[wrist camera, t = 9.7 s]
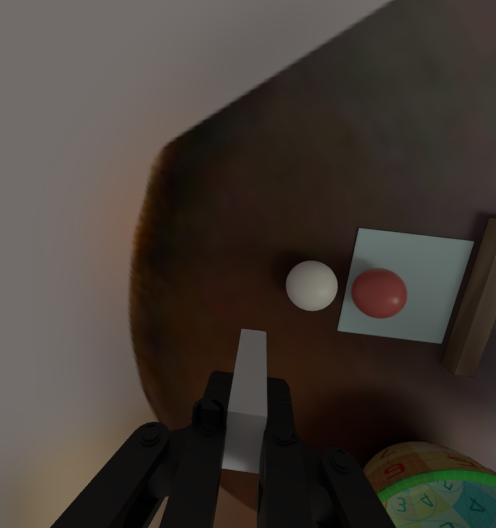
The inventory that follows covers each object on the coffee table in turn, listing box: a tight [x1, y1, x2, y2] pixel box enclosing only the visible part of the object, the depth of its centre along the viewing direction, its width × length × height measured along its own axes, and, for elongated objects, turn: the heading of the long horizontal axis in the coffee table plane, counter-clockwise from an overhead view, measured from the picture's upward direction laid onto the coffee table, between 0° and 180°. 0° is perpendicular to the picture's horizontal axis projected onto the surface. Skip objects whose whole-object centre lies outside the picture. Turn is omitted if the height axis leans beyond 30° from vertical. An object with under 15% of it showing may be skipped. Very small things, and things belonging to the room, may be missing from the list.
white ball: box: [286, 261, 337, 311], centre depth 32 cm, size 6×6×6 cm
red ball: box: [351, 268, 408, 319], centre depth 32 cm, size 6×6×6 cm
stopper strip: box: [442, 218, 496, 377], centre depth 33 cm, size 2×20×2 cm, turn 174°
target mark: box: [337, 228, 474, 344], centre depth 34 cm, size 14×14×1 cm
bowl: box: [363, 441, 496, 528], centre depth 36 cm, size 22×22×10 cm
